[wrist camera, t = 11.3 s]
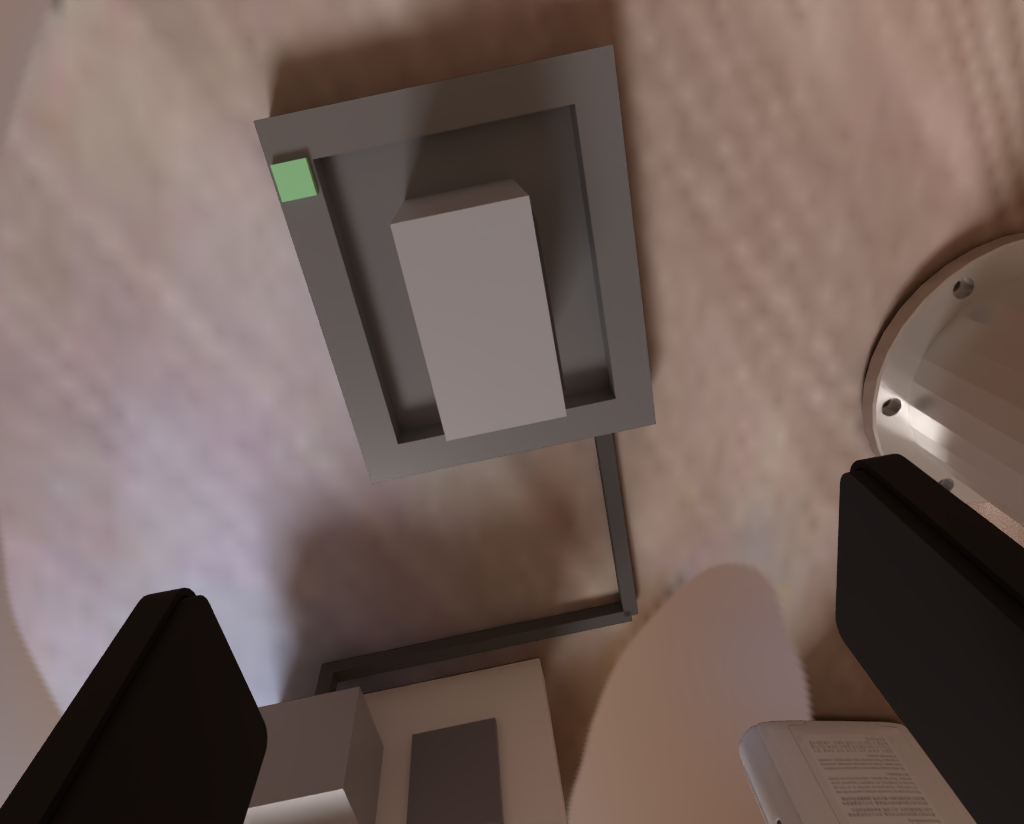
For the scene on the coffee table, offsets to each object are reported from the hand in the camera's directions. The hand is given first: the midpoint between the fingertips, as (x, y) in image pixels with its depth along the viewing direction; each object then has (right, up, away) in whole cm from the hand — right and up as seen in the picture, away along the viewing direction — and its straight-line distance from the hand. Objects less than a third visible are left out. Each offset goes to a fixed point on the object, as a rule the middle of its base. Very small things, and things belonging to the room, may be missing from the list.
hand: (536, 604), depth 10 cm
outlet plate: (-6, -10, +24) cm, 27 cm away
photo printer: (+18, -16, +30) cm, 38 cm away
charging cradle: (-2, +8, +17) cm, 19 cm away
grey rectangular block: (-2, +8, +16) cm, 18 cm away
